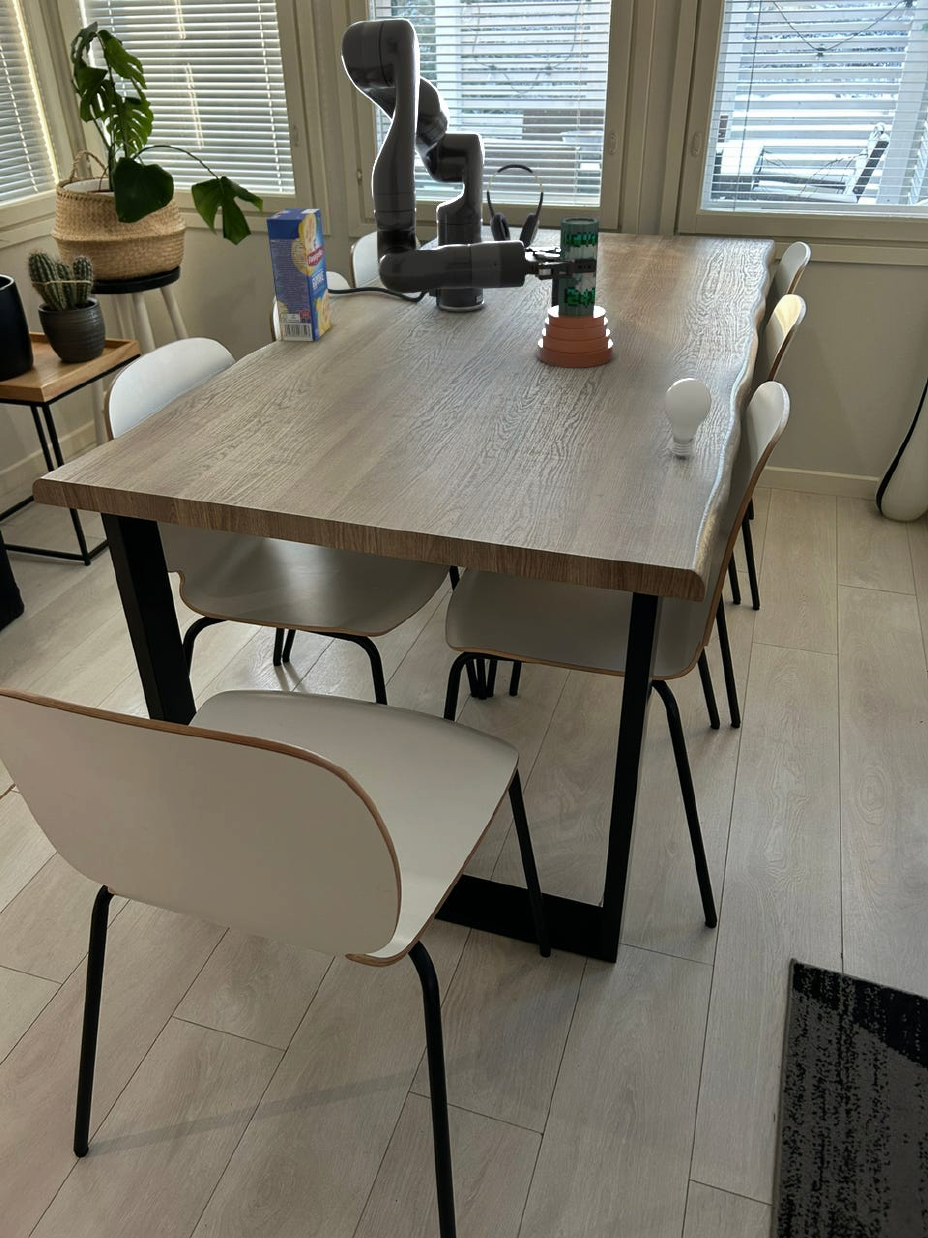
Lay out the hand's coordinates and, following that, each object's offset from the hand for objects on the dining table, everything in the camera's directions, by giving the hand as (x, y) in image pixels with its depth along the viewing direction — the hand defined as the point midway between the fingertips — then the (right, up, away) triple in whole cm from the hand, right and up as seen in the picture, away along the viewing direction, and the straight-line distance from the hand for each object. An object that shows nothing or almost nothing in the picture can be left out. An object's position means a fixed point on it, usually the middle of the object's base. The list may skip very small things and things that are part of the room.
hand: (591, 260), depth 166 cm
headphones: (-9, +36, +87) cm, 95 cm away
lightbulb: (+9, -39, -31) cm, 50 cm away
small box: (-1, -4, +24) cm, 25 cm away
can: (-2, -7, +4) cm, 9 cm away
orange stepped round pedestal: (-2, -14, +9) cm, 17 cm away
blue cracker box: (-53, -5, +25) cm, 59 cm away
